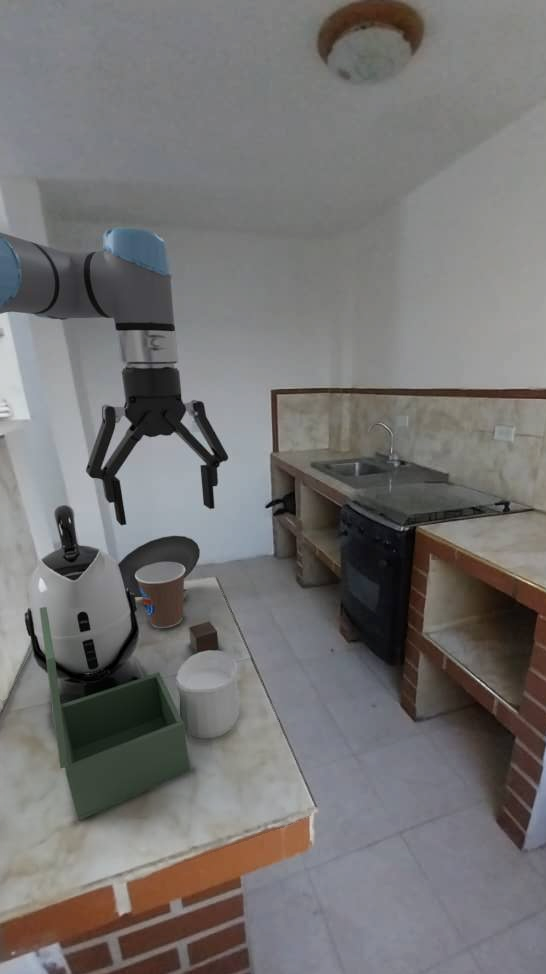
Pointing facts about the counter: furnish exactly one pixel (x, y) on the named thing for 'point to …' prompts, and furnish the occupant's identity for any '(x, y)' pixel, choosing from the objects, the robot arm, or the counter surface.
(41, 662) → the kettle
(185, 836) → the counter surface
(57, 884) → the counter surface
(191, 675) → the cup
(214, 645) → the block
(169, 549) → the plate
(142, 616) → the counter surface
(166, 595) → the coffee cup
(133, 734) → the chest
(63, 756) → the lid
